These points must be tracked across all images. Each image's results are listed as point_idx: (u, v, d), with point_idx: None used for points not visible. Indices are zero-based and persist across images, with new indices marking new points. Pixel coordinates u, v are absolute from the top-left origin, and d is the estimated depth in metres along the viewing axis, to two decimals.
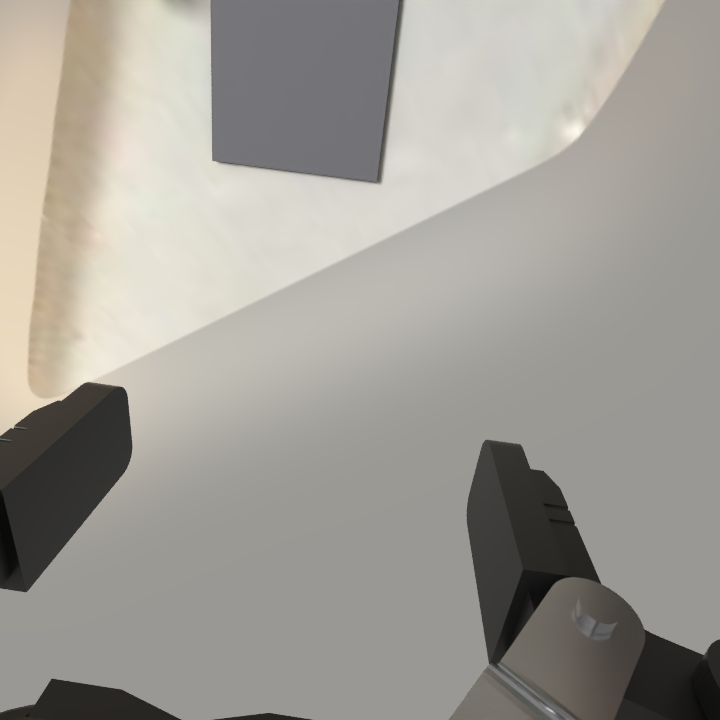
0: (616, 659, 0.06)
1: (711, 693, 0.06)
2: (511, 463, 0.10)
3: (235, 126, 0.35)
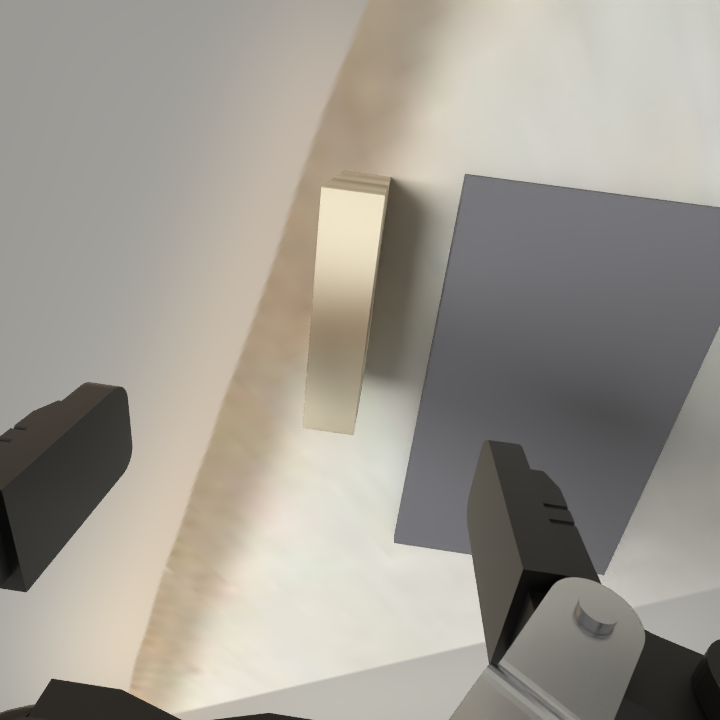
0: (617, 659, 0.06)
1: (711, 693, 0.06)
2: (511, 463, 0.10)
3: (430, 515, 0.28)
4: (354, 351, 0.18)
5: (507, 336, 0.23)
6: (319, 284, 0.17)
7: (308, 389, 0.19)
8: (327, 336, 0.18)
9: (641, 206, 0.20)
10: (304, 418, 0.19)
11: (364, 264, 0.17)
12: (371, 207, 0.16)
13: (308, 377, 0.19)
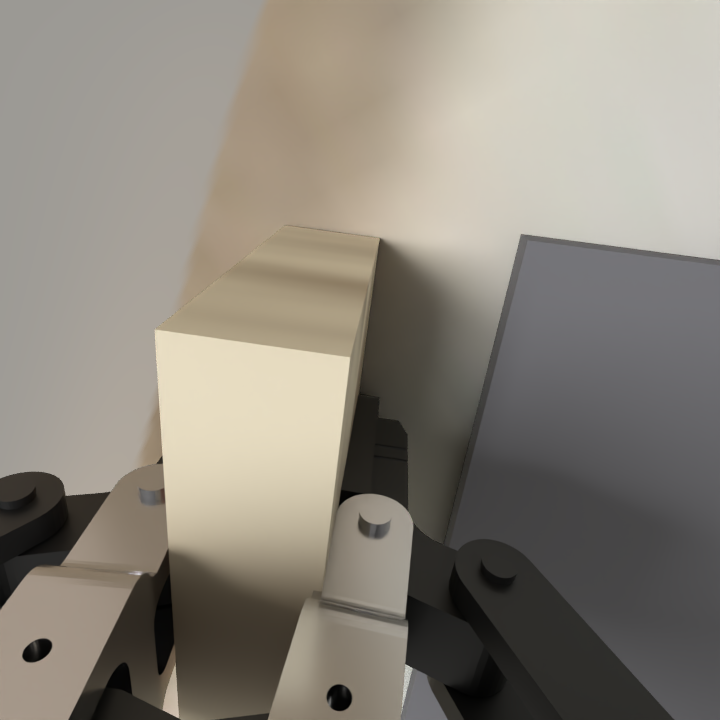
0: (375, 550, 0.07)
1: (465, 598, 0.07)
2: (362, 411, 0.11)
3: None
4: None
5: (590, 522, 0.12)
6: (183, 558, 0.06)
7: None
8: (217, 657, 0.07)
9: None
10: None
11: (298, 522, 0.06)
12: (310, 387, 0.05)
13: None
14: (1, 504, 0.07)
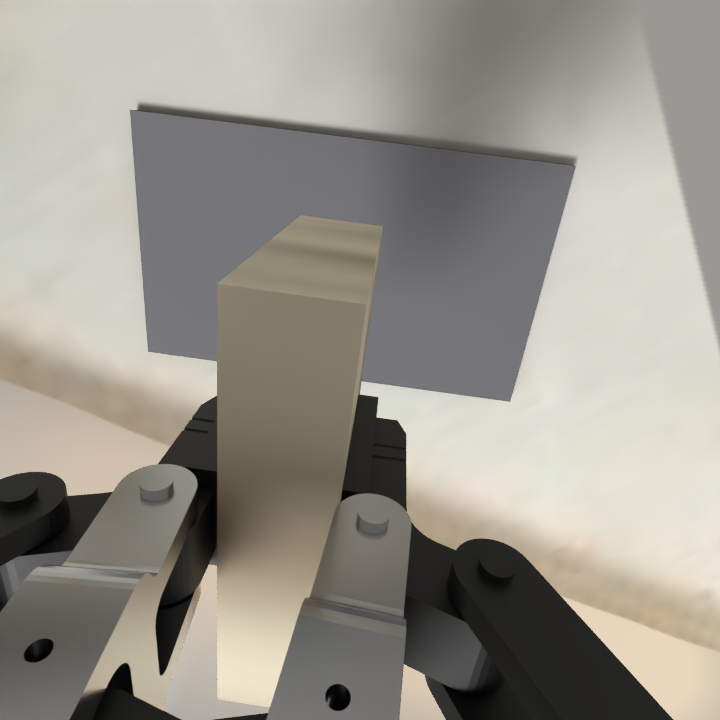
0: (373, 550, 0.07)
1: (463, 598, 0.07)
2: (360, 411, 0.11)
3: (471, 367, 0.26)
4: (308, 590, 0.09)
5: None
6: (229, 475, 0.08)
7: (223, 644, 0.10)
8: (252, 565, 0.09)
9: (144, 222, 0.25)
10: (219, 686, 0.10)
11: (323, 441, 0.08)
12: (334, 329, 0.07)
13: (221, 627, 0.09)
14: (3, 504, 0.07)
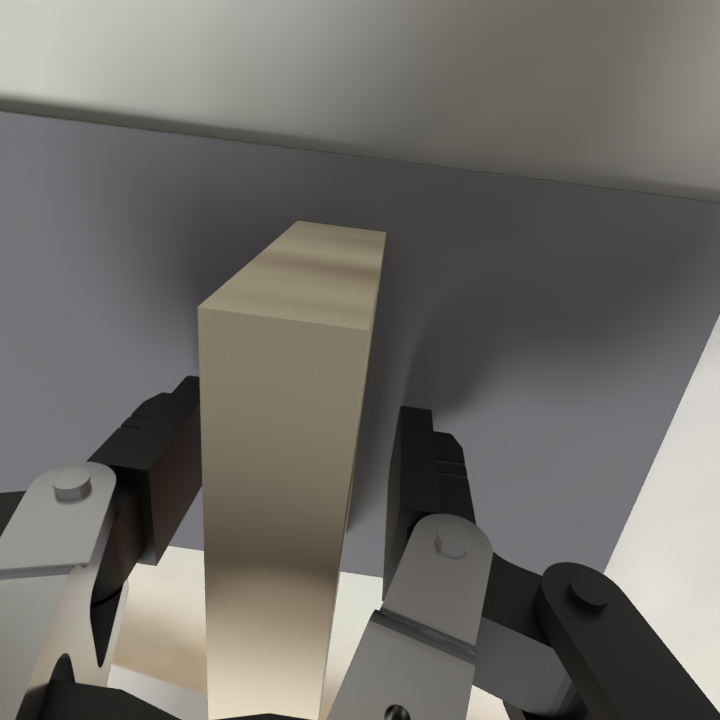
0: (459, 575, 0.07)
1: (549, 618, 0.07)
2: (417, 424, 0.11)
3: (522, 556, 0.15)
4: (306, 638, 0.08)
5: None
6: (216, 516, 0.07)
7: (213, 693, 0.09)
8: (244, 611, 0.08)
9: None
10: None
11: (320, 481, 0.07)
12: (333, 357, 0.06)
13: (211, 675, 0.09)
14: None
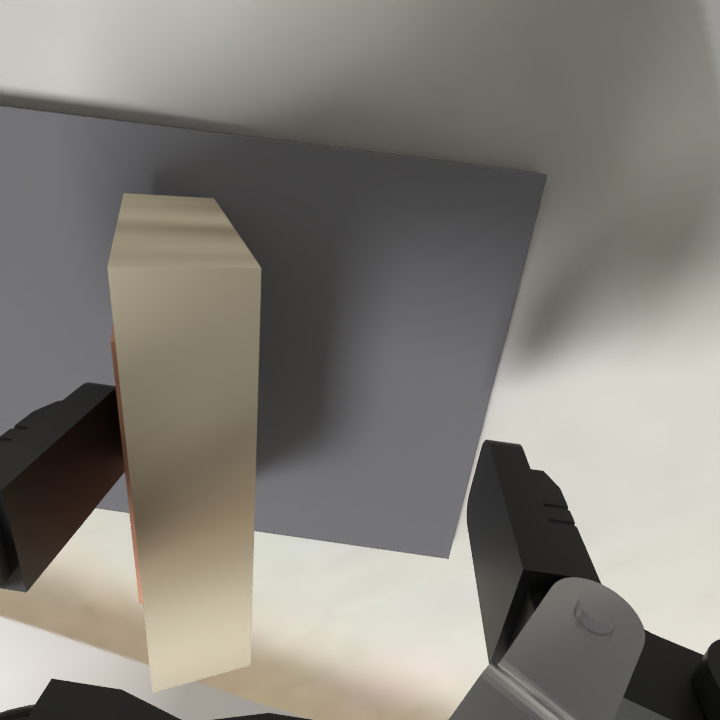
0: (616, 659, 0.06)
1: (711, 693, 0.06)
2: (511, 463, 0.10)
3: (382, 508, 0.16)
4: (234, 549, 0.09)
5: None
6: (141, 461, 0.08)
7: (153, 635, 0.10)
8: (176, 543, 0.09)
9: None
10: (153, 679, 0.10)
11: (234, 404, 0.08)
12: (234, 295, 0.07)
13: (149, 618, 0.09)
14: None
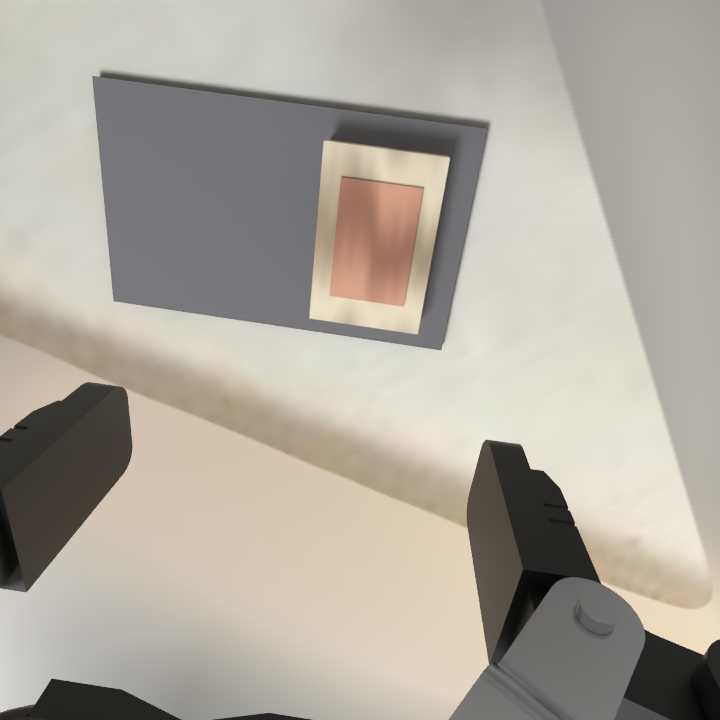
0: (617, 659, 0.06)
1: (711, 693, 0.06)
2: (511, 463, 0.10)
3: None
4: None
5: (219, 264, 0.29)
6: (437, 224, 0.25)
7: None
8: None
9: (107, 179, 0.27)
10: None
11: None
12: None
13: None
14: None
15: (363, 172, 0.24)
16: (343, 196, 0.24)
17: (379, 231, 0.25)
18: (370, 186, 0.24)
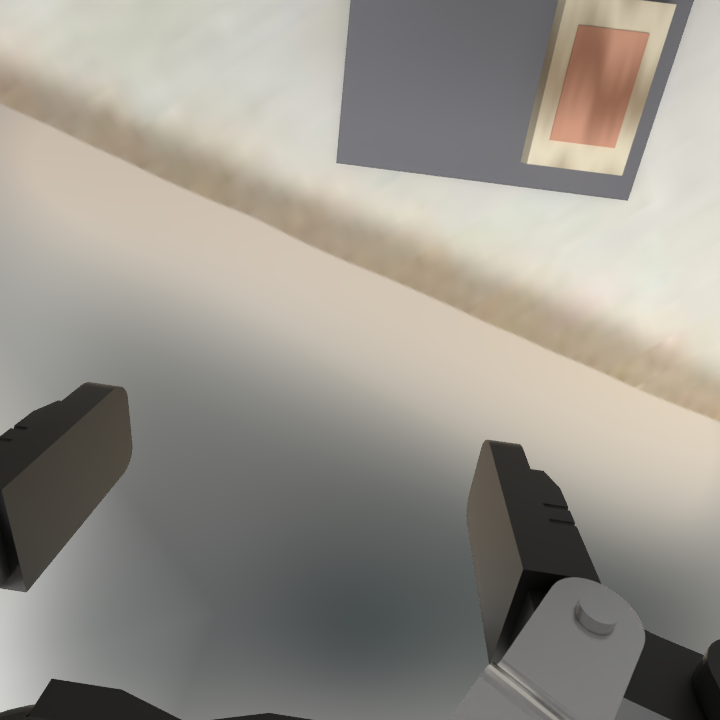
0: (616, 659, 0.06)
1: (711, 693, 0.06)
2: (511, 463, 0.10)
3: None
4: None
5: (439, 123, 0.33)
6: None
7: (630, 145, 0.31)
8: None
9: (351, 44, 0.31)
10: None
11: None
12: None
13: (634, 136, 0.31)
14: None
15: (598, 20, 0.28)
16: (578, 43, 0.29)
17: (604, 75, 0.29)
18: (603, 33, 0.28)
